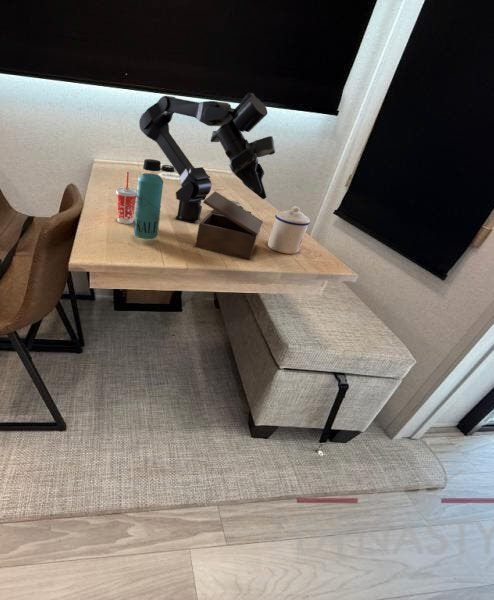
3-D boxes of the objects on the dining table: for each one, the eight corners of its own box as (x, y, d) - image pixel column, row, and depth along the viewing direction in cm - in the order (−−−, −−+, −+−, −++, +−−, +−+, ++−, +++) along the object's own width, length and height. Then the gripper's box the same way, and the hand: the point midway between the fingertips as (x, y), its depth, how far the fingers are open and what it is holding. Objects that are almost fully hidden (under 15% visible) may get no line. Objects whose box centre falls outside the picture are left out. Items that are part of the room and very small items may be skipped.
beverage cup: (136, 219, 100) (140, 171, 93) (133, 225, 95) (137, 175, 88) (117, 216, 100) (119, 168, 93) (112, 222, 95) (114, 172, 88)
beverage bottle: (145, 233, 91) (152, 156, 80) (162, 241, 87) (172, 162, 76) (127, 238, 87) (132, 157, 76) (144, 247, 83) (152, 163, 72)
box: (195, 246, 87) (199, 223, 84) (206, 233, 96) (210, 212, 93) (249, 260, 83) (256, 236, 80) (255, 245, 92) (261, 223, 89)
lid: (202, 202, 81) (204, 200, 80) (213, 193, 90) (215, 191, 90) (255, 236, 80) (257, 233, 79) (261, 223, 89) (262, 221, 89)
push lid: (225, 207, 109) (226, 202, 108) (228, 205, 112) (229, 200, 111) (237, 210, 108) (238, 205, 107) (239, 207, 111) (240, 202, 110)
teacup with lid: (304, 255, 90) (320, 214, 83) (273, 253, 89) (286, 211, 82) (287, 239, 100) (300, 200, 94) (259, 236, 99) (270, 198, 92)
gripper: (258, 110, 75) (290, 169, 74) (266, 136, 92) (293, 184, 91) (215, 141, 79) (246, 197, 78) (231, 161, 96) (256, 206, 95)
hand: (262, 195), depth 86 cm, fingers open, 9 cm apart
